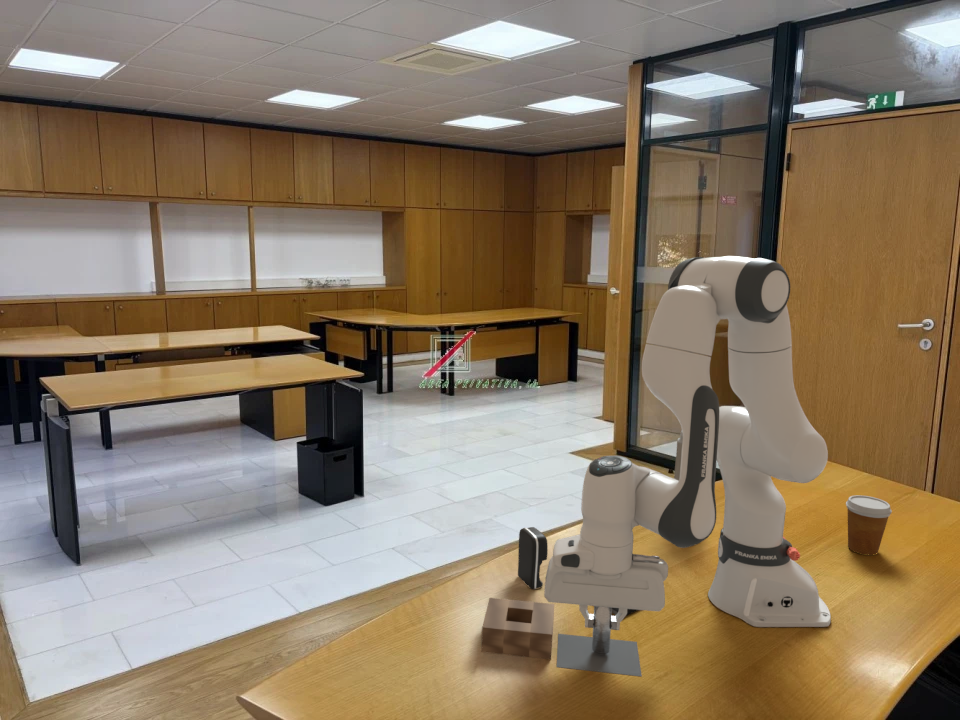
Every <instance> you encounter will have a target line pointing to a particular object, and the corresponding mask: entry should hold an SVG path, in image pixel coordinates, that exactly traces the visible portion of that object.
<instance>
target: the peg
mask: <svg viewBox="0 0 960 720" xmlns="http://www.w3.org/2000/svg"><path fill="white" fill-rule="evenodd" d="M593 614H594V623H593V624H594V627H593V628H592V637H593V638H592V650H593V651H594V652H595V653H597V654H601V655H604V654H607V653H609V651H610V639H611V631H612V630H611V616H613V615H612V614H613V613H612V607H601V606H593Z"/></svg>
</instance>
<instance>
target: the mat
mask: <svg viewBox="0 0 960 720" xmlns="http://www.w3.org/2000/svg"><path fill="white" fill-rule="evenodd" d="M592 638H593V636H585V635H584V636H583V635H574V634H566V633H558V634H557V648H556V649H557V651H556V652H557V653H556V668H558V669H559V668H561V669H571V670H579V671H588V672H597V673H606V674H614V675H615V674H616V675H623V676H634V677H643V676H642V668H641V663H640V655H639V646H638V642H637V641H632V640H621V639H612V638H610V651H609V653H607V654H604V655H601V654H597V653H595V652H594V651H593V650H592Z"/></svg>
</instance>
